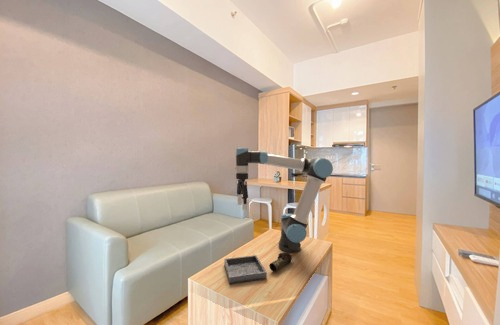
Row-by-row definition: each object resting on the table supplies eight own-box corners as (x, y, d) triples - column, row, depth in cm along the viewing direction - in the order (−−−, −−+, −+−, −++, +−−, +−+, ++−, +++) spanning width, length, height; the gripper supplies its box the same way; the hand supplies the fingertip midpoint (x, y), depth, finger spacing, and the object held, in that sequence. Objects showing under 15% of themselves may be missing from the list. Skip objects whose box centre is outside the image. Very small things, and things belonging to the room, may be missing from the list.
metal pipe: (276, 273, 105) (276, 262, 105) (266, 268, 110) (266, 258, 110) (293, 262, 118) (294, 252, 118) (284, 258, 123) (284, 249, 123)
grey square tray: (256, 261, 120) (256, 255, 120) (266, 279, 101) (266, 272, 101) (224, 265, 115) (224, 258, 115) (229, 284, 96) (229, 277, 96)
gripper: (232, 171, 135) (232, 203, 135) (240, 173, 110) (240, 212, 111) (243, 171, 137) (243, 202, 137) (253, 173, 112) (253, 211, 113)
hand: (242, 206), depth 124 cm, fingers open, 13 cm apart
